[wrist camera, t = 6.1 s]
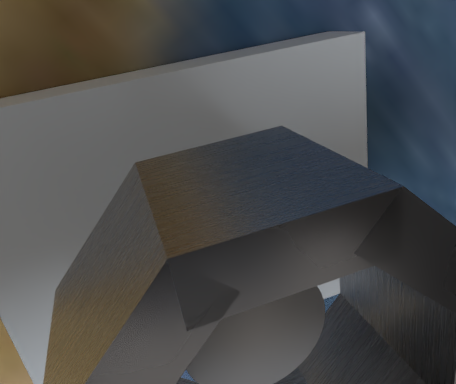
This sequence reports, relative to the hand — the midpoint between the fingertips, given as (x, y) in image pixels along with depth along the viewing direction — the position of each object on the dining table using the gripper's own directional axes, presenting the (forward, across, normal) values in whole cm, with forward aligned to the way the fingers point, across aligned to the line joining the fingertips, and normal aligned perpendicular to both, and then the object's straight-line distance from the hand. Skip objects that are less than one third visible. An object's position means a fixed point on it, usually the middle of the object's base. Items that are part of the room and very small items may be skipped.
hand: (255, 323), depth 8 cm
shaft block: (+7, 0, 0) cm, 7 cm away
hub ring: (+1, 0, 0) cm, 1 cm away
